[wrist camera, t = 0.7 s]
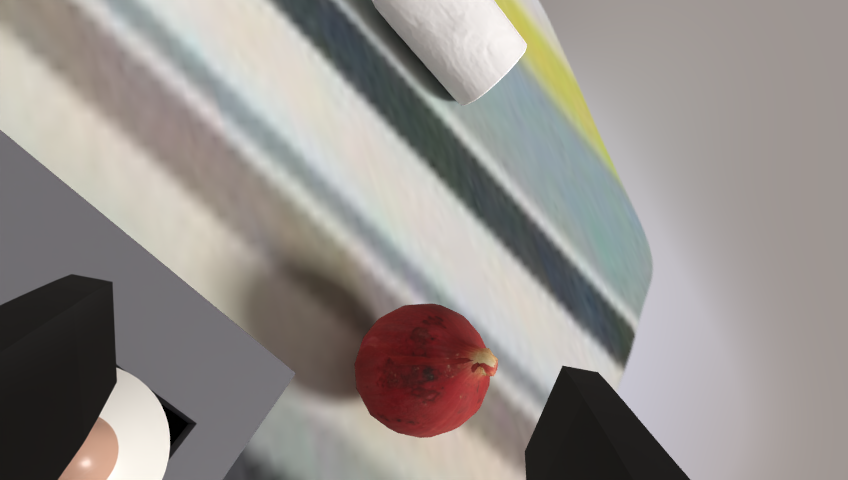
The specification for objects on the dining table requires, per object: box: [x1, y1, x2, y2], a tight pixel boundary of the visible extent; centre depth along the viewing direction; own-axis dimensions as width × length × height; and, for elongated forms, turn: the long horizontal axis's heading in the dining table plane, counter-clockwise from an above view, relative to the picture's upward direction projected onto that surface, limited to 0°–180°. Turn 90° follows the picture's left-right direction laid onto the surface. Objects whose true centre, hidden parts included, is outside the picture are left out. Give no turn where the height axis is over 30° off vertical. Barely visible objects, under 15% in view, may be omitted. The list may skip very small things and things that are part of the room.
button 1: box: [58, 368, 170, 480], centre depth 15 cm, size 4×4×3 cm
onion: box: [355, 304, 498, 438], centre depth 25 cm, size 6×6×8 cm
